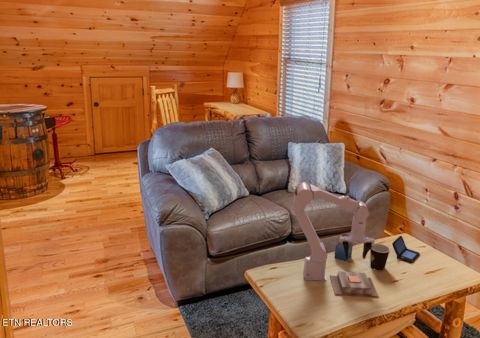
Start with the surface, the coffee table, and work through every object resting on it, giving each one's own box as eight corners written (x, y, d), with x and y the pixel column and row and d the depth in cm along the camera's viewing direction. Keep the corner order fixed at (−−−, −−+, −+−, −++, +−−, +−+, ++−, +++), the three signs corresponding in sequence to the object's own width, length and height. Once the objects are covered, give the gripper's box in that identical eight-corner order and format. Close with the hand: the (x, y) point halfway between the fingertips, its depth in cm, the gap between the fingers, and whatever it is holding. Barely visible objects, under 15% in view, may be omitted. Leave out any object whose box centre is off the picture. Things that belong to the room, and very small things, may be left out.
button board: (334, 295, 171) (335, 287, 170) (329, 276, 184) (330, 269, 183) (378, 297, 170) (379, 290, 169) (370, 278, 183) (371, 271, 182)
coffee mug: (388, 273, 188) (391, 253, 185) (368, 270, 190) (371, 251, 187) (384, 260, 199) (387, 241, 196) (366, 258, 200) (368, 239, 197)
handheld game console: (411, 264, 196) (414, 250, 194) (389, 256, 203) (391, 243, 201) (420, 254, 205) (422, 241, 203) (398, 247, 212) (400, 234, 210)
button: (349, 287, 175) (350, 281, 174) (347, 281, 179) (348, 275, 178) (359, 288, 174) (360, 281, 173) (357, 282, 179) (358, 276, 178)
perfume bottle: (339, 253, 205) (341, 231, 201) (351, 256, 201) (353, 234, 198) (334, 257, 200) (336, 235, 196) (346, 262, 197) (349, 239, 193)
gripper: (342, 232, 173) (339, 261, 177) (377, 234, 172) (373, 262, 176) (340, 225, 179) (337, 252, 184) (373, 226, 179) (369, 254, 183)
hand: (354, 257), depth 180 cm, fingers open, 7 cm apart
